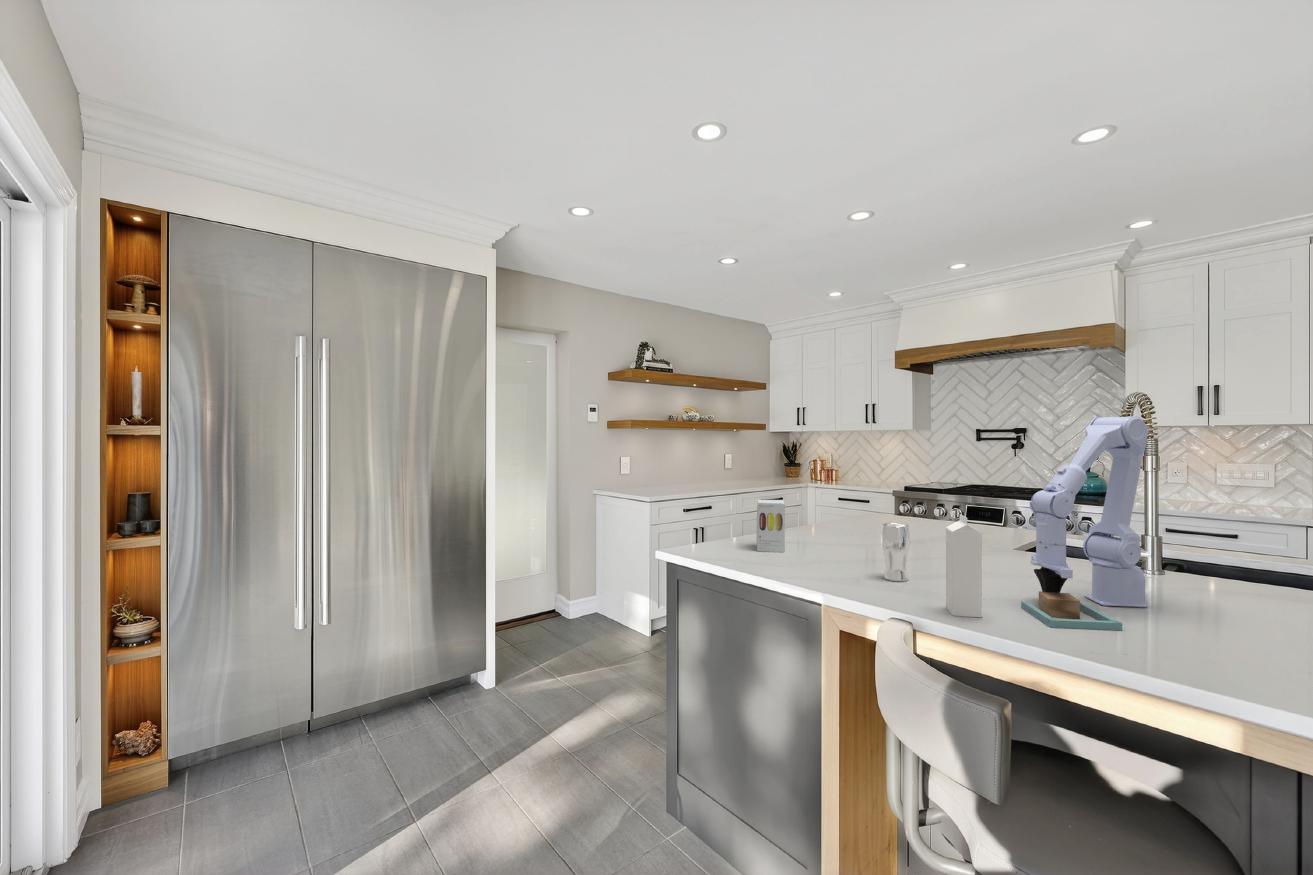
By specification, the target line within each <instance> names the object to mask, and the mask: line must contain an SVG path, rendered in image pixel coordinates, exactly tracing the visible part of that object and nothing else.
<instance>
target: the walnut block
mask: <svg viewBox="0 0 1313 875" xmlns="http://www.w3.org/2000/svg"><path fill="white" fill-rule="evenodd" d="M1080 603H1081V601H1080V600H1079V599H1078V598H1076V597H1075V596H1074V595H1072V594H1070V593H1069V592H1068V593H1067V592H1060V593H1057V592H1042V590H1041V591H1038V609H1039V610H1041V611H1043V612H1044V613H1046V614H1047V615H1049V616H1050V617H1052V618H1054V619H1075V620H1081V610H1080Z"/></svg>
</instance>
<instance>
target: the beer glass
mask: <svg viewBox="0 0 1313 875" xmlns="http://www.w3.org/2000/svg"><path fill="white" fill-rule="evenodd" d="M881 535H882V536H881V543H882V544H881V545H882V551H883V557H884V563H885V567H884V568H885V569H884V575H883V578H884V580H886V581H888V582H889V581H890V582H896V583H897V582H898V583H904V582H907V581H908V580H909V578H908V572H907V562H908V557H909V551H910V530H909V525H908V524H905V523H901V522H900V523H899V522H896V523H895V522H887V523H883V524H882V534H881Z"/></svg>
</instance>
